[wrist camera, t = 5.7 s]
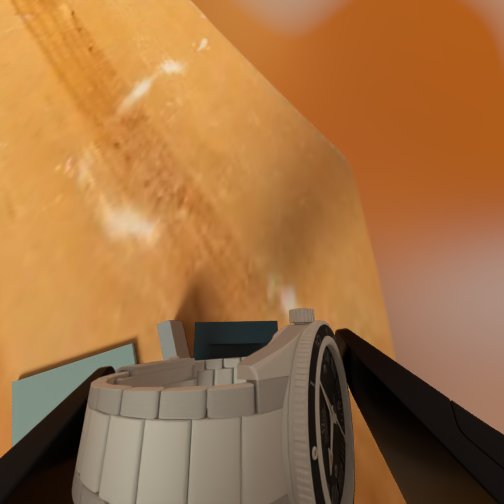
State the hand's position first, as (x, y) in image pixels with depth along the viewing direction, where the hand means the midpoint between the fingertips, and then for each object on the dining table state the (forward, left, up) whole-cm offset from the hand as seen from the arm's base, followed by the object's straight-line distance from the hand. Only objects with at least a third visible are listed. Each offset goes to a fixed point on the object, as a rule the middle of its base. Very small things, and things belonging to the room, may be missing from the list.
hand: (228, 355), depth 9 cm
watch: (-1, 0, -7) cm, 7 cm away
